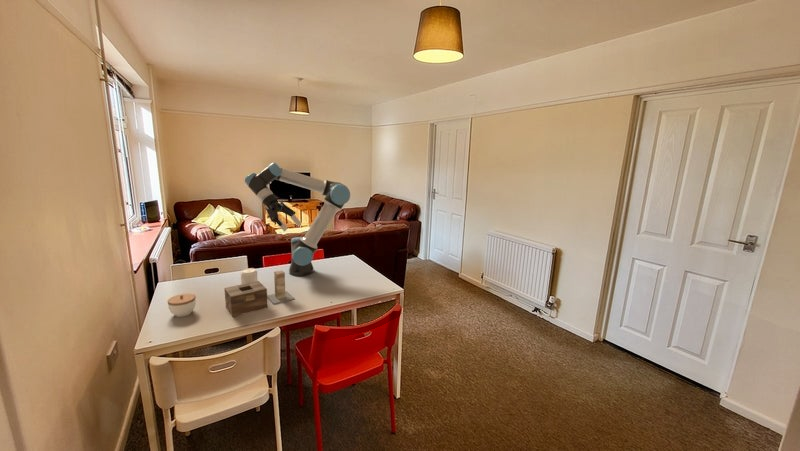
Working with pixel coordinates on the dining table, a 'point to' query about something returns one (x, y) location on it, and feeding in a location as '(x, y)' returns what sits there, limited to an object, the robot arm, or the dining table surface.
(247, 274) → the tan half-round slab
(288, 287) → the dining table surface
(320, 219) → the robot arm
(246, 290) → the brown square frame
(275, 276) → the wooden block
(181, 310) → the lidded jar
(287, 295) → the mat
